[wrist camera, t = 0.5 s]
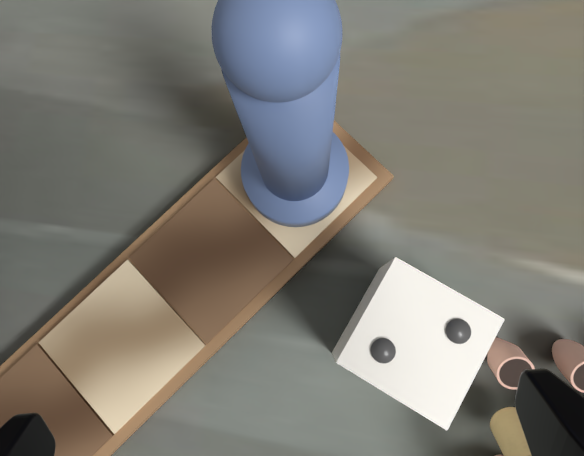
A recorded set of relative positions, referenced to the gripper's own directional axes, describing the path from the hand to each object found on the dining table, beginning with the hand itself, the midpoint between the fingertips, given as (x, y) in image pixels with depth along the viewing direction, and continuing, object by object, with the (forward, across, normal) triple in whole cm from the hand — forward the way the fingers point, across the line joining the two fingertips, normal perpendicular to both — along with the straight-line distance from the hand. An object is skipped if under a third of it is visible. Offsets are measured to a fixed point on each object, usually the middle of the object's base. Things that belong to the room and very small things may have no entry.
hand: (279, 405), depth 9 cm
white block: (+10, -5, +9) cm, 14 cm away
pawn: (+14, -1, +2) cm, 15 cm away
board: (+11, +6, +7) cm, 14 cm away
